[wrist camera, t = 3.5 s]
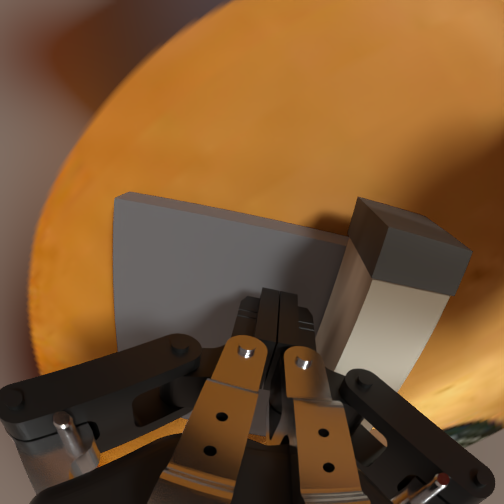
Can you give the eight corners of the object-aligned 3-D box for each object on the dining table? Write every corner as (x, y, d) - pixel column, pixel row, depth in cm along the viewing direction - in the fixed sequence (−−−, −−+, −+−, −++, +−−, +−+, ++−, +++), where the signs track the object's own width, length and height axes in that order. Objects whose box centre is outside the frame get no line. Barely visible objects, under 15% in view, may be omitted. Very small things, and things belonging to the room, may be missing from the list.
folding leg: (318, 441, 18) (319, 505, 13) (272, 435, 18) (265, 500, 13) (424, 216, 12) (486, 263, 7) (357, 196, 12) (398, 237, 7)
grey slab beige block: (496, 275, 14) (553, 330, 8) (386, 450, 20) (396, 508, 15) (129, 191, 15) (53, 227, 9) (134, 407, 21) (105, 464, 15)
